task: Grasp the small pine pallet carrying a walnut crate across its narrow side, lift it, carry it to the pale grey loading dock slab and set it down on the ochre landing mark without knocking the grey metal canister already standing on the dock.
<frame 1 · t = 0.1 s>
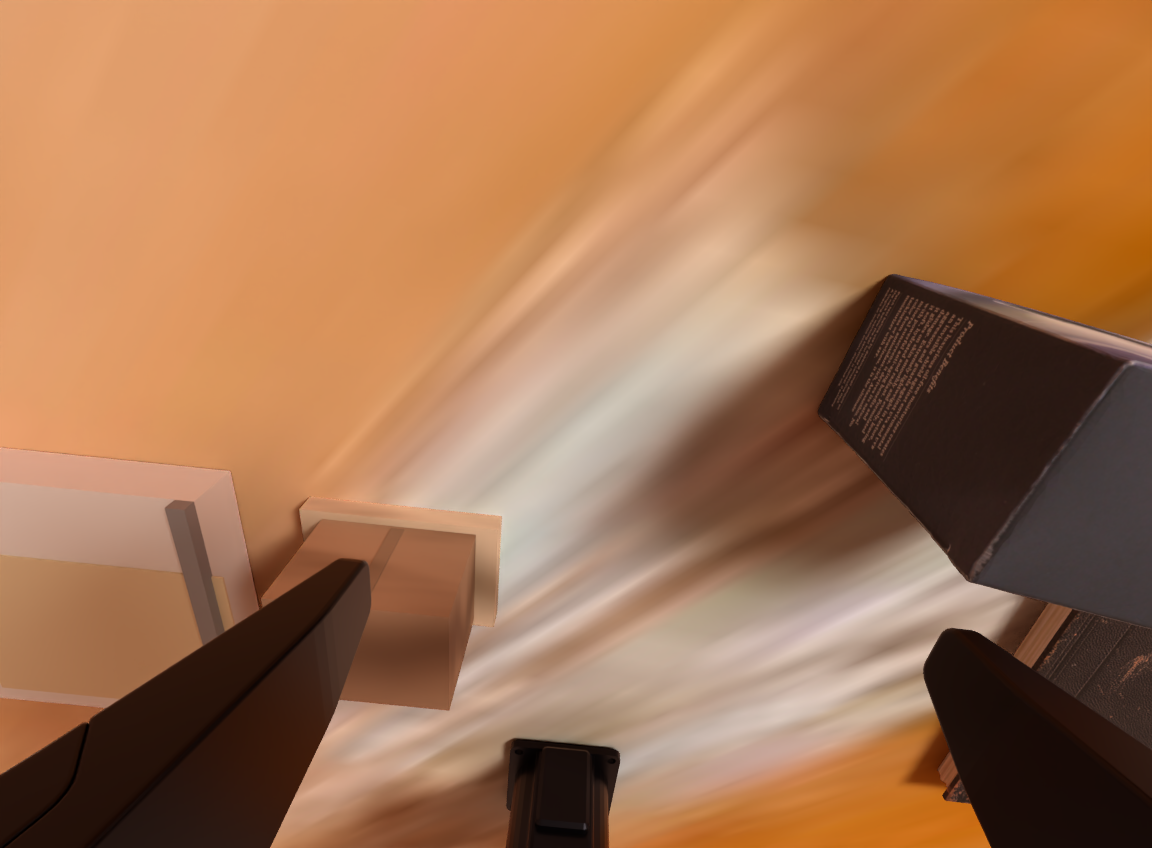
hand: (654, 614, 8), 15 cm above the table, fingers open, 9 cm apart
small box: (966, 376, 22), on the table
dock: (78, 570, 28), on the table
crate: (409, 554, 27), on the table
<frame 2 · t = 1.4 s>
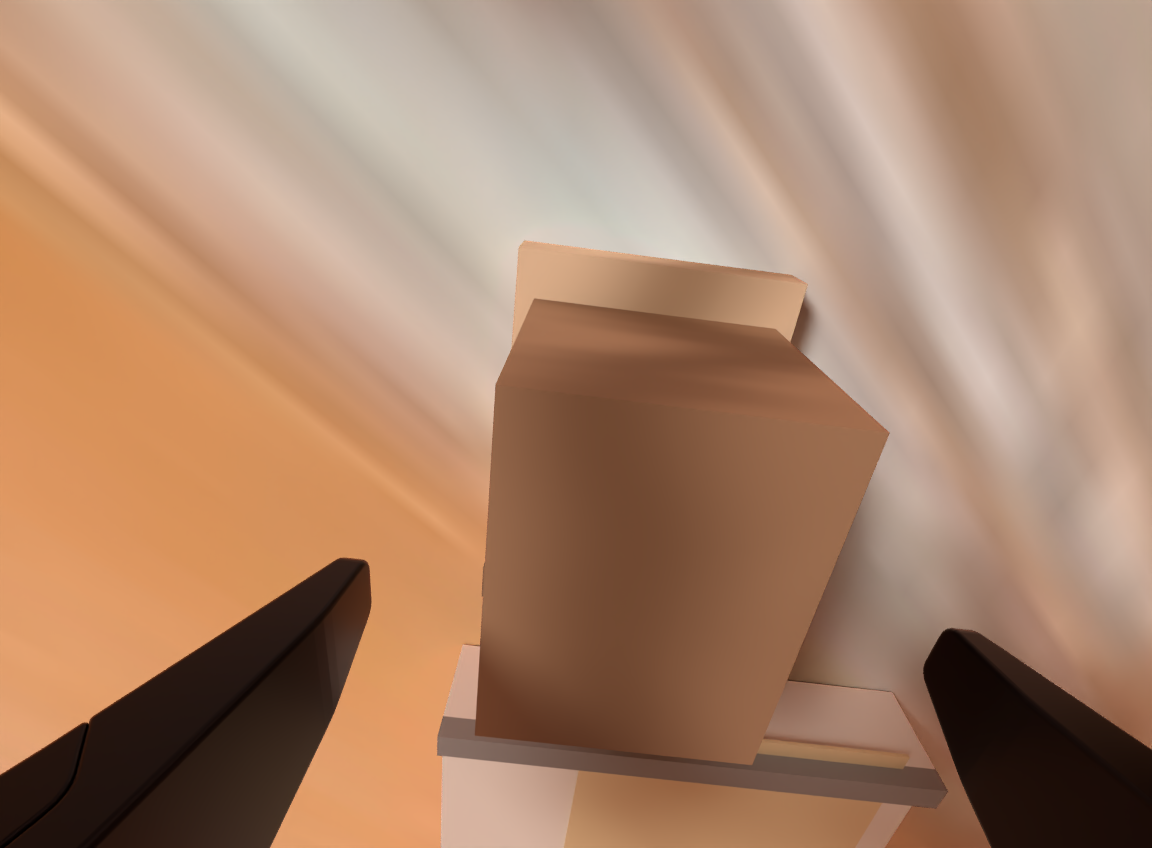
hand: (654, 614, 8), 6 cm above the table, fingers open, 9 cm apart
dock: (633, 828, 21), on the table
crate: (626, 434, 14), on the table
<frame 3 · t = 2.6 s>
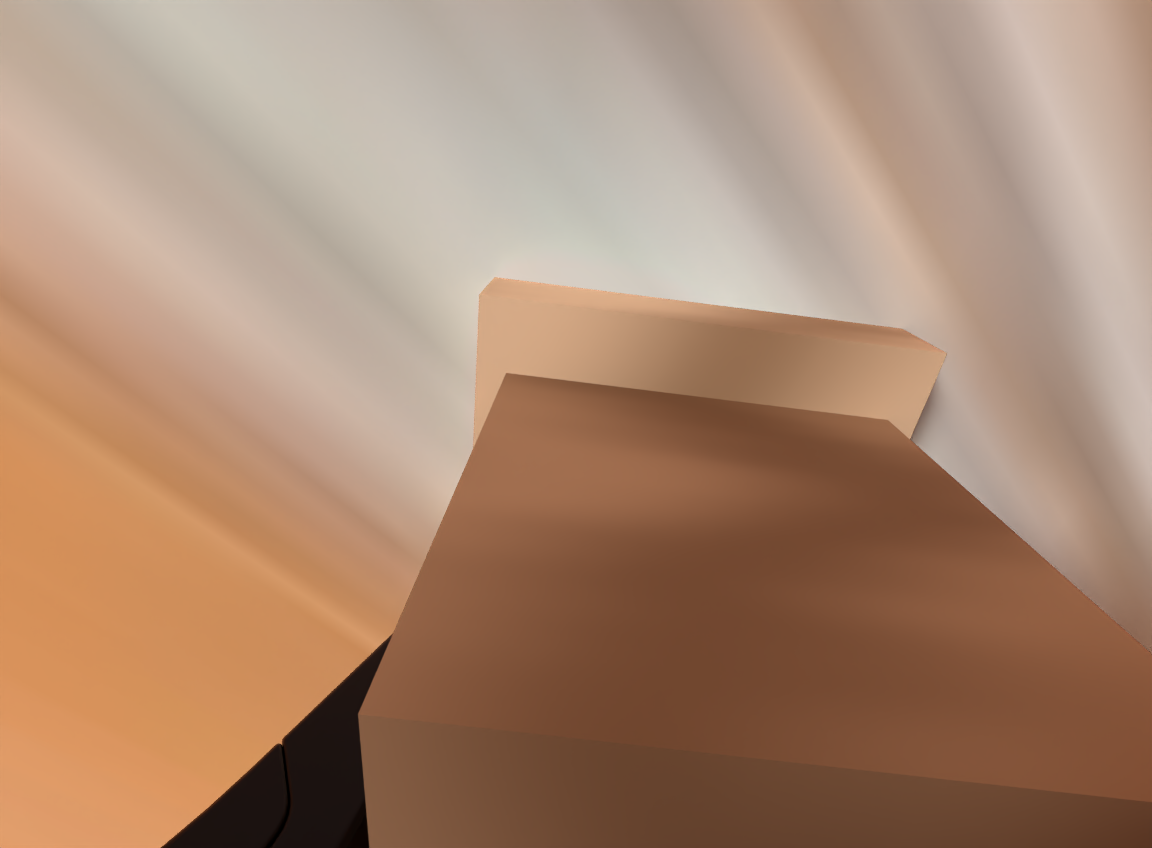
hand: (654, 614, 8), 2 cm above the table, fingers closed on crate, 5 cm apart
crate: (646, 546, 10), on the table, touching gripper
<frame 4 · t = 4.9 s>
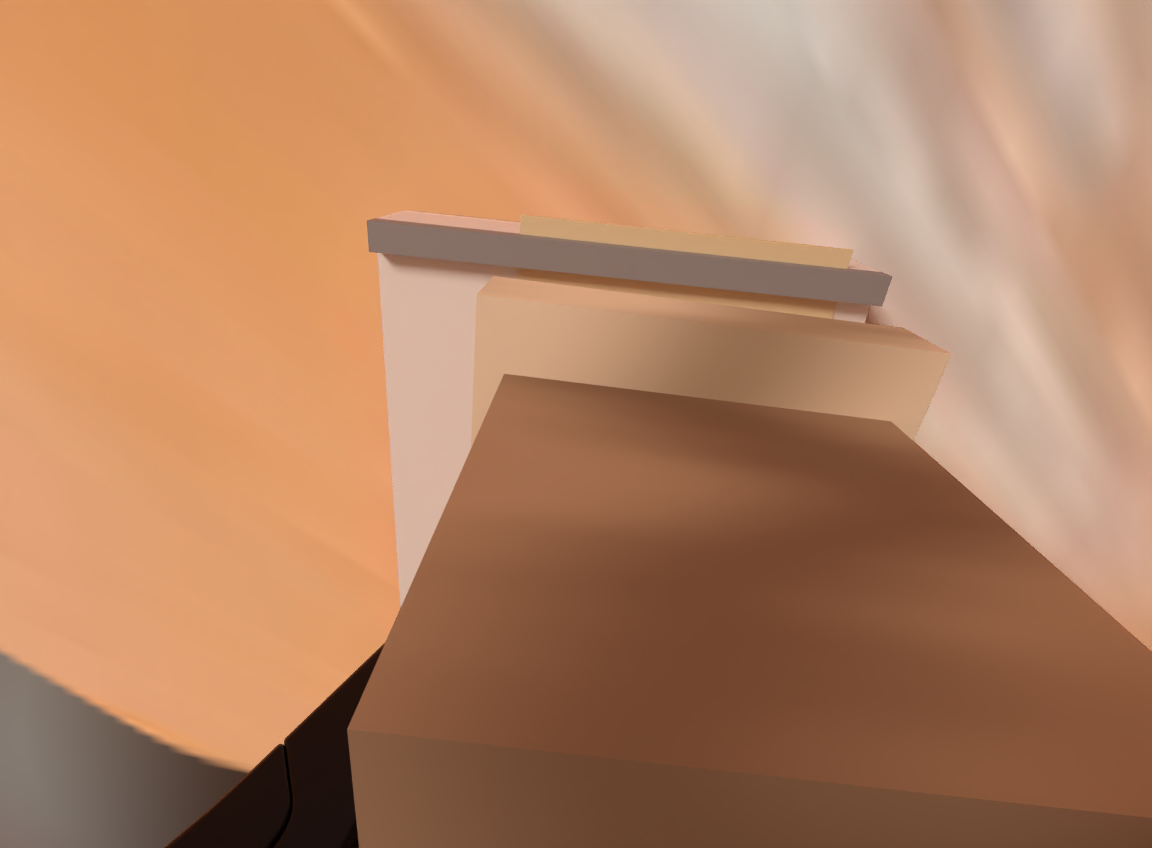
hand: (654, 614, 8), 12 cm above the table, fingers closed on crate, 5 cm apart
dock: (594, 475, 21), on the table
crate: (646, 548, 10), point 10 cm above the table, touching gripper
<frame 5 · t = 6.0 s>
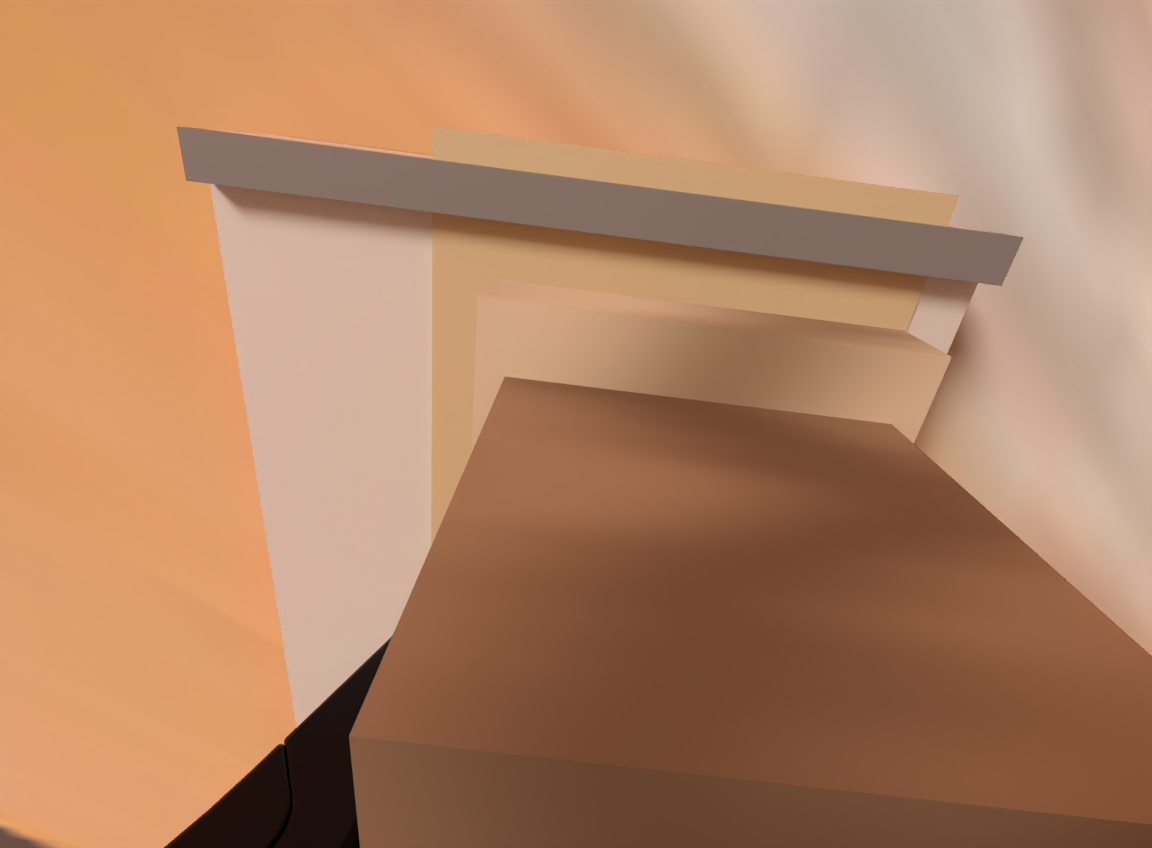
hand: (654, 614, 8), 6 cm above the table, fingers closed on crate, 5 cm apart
dock: (560, 520, 16), on the table
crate: (646, 550, 10), point 5 cm above the table, touching gripper
when the fingers open (5 cm above the table, at t = 7.1 s): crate stays where it is, resting on dock.
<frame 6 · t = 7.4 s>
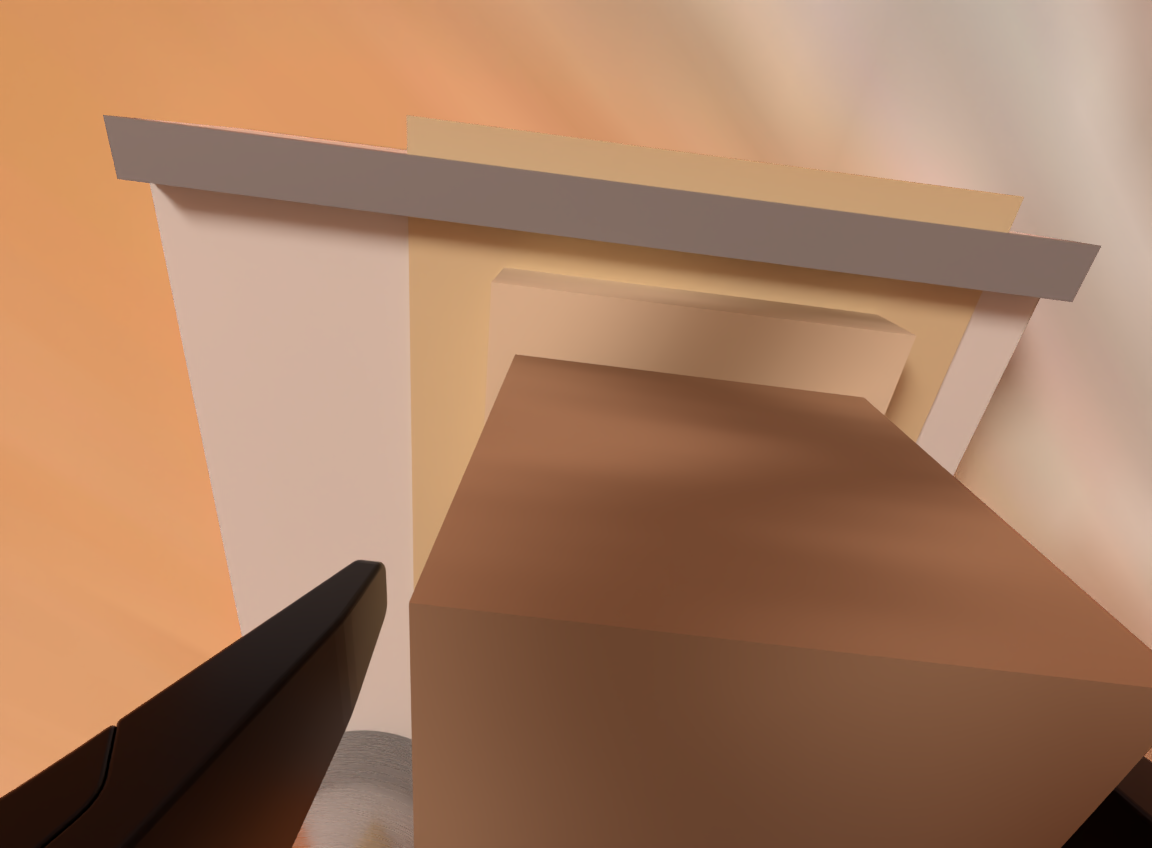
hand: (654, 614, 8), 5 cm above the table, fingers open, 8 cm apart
canister: (380, 783, 15), point 3 cm above the table, touching dock
dock: (558, 551, 14), on the table
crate: (643, 521, 11), point 3 cm above the table, touching dock
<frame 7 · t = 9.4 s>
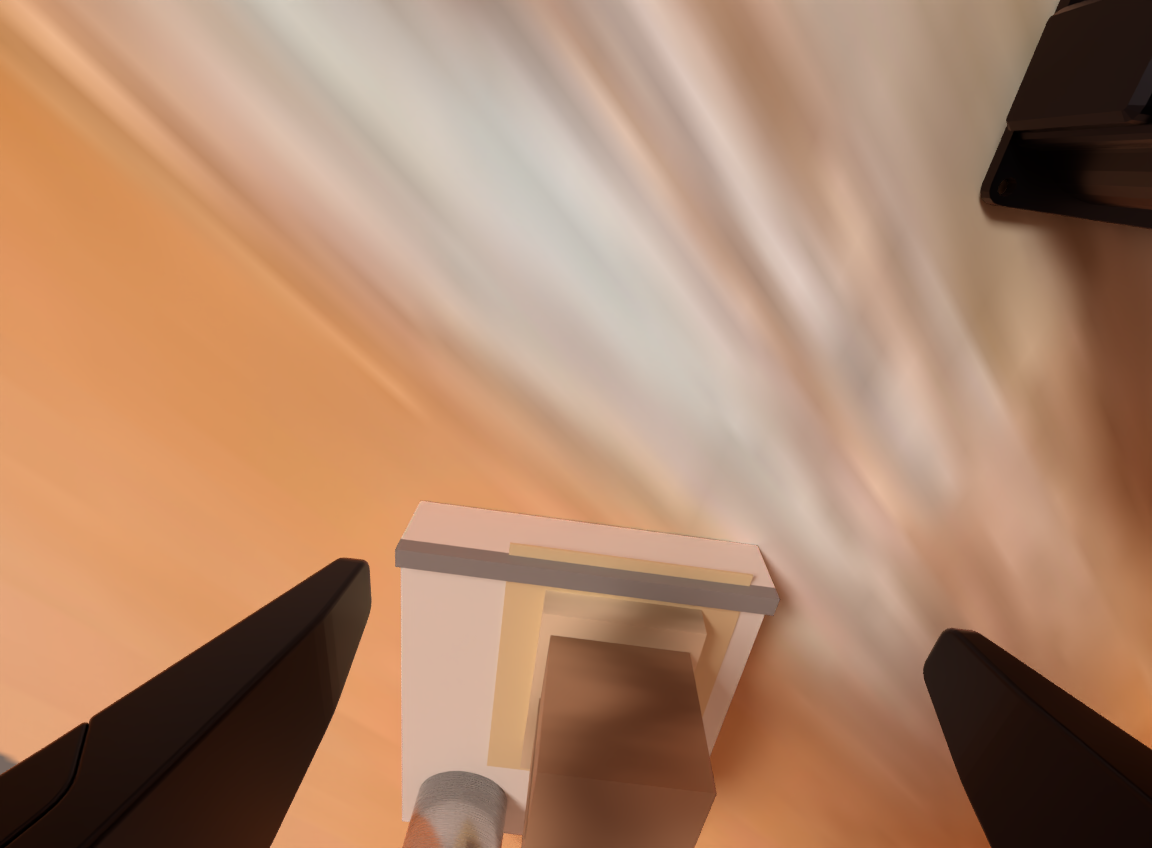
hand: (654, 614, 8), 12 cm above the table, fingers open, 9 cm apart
canister: (462, 799, 27), point 3 cm above the table, touching dock
dock: (563, 674, 26), on the table
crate: (605, 681, 23), point 3 cm above the table, touching dock
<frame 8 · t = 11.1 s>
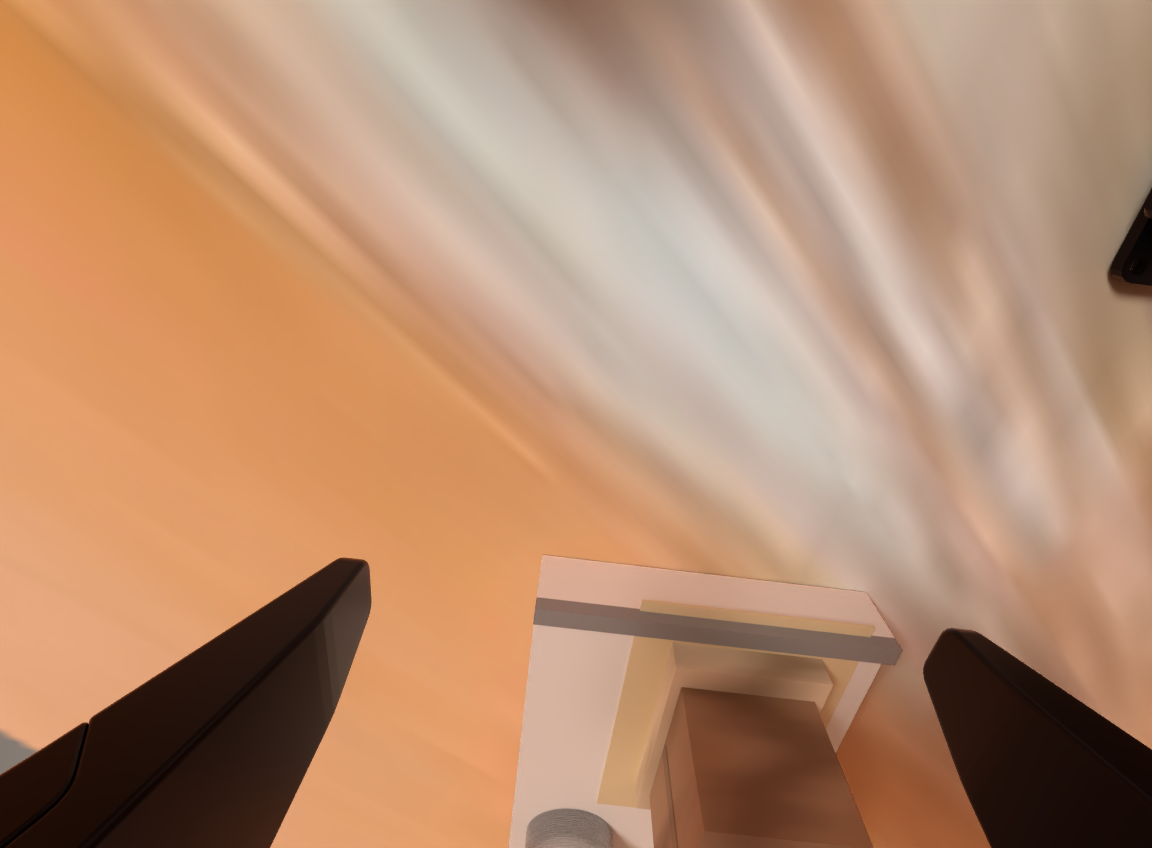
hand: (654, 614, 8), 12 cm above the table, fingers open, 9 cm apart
canister: (569, 834, 28), point 3 cm above the table, touching dock
dock: (665, 713, 27), on the table
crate: (720, 724, 24), point 3 cm above the table, touching dock
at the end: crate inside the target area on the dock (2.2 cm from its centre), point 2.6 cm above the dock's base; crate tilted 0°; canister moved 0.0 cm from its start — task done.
